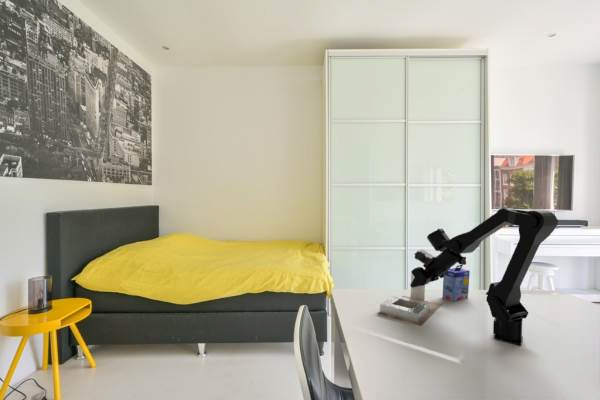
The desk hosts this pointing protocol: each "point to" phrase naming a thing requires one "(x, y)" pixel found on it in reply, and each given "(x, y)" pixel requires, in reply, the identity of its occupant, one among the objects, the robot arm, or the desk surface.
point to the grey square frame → (405, 308)
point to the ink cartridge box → (456, 284)
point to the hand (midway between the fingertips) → (414, 285)
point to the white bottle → (417, 291)
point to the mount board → (433, 309)
